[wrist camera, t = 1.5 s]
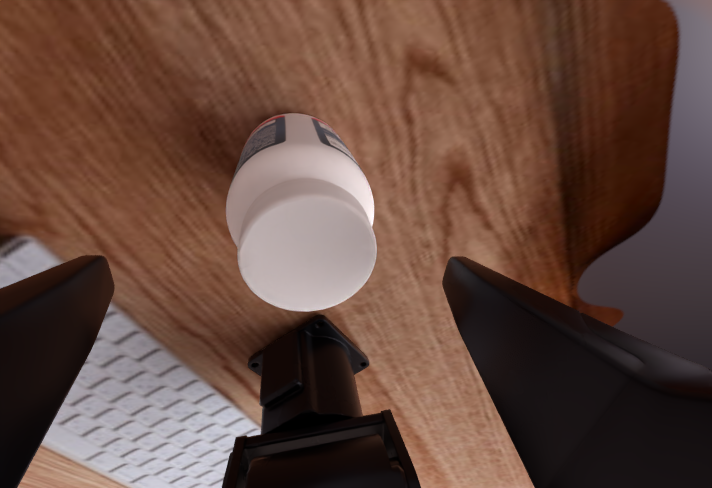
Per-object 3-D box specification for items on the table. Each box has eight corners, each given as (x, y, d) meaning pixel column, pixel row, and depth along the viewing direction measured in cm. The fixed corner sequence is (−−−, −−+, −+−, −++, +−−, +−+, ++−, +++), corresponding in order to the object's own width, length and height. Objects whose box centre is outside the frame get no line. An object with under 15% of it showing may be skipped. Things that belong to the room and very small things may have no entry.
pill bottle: (246, 212, 18) (218, 334, 10) (238, 107, 15) (192, 167, 7) (344, 213, 19) (384, 323, 11) (352, 116, 16) (412, 174, 9)
